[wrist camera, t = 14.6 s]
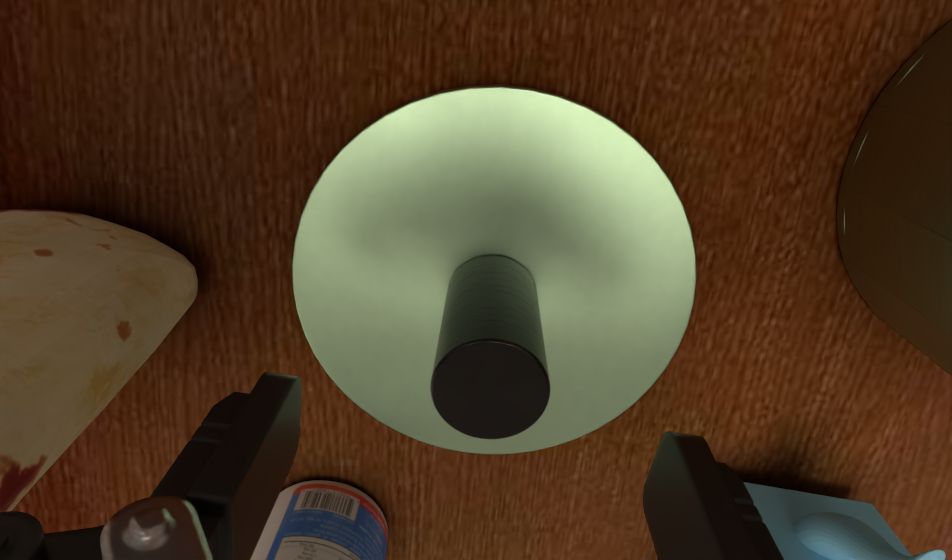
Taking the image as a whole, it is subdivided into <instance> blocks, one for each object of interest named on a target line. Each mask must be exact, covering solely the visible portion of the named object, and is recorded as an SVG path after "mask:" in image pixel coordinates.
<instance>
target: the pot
mask: <svg viewBox="0 0 952 560" xmlns="http://www.w3.org/2000/svg"><path fill="white" fill-rule="evenodd" d="M837 230H838V242H839V246H840V250H841V255H842V259H843V263H844V265H845V267H846V270H847V272H848V274H849V277H850V279H851V281H852V283H853V284H854V286H855V287H856V289H857V291H858V292H859V294H860V295H861V297H862V298H863V299H864V300H865V301H866V302H867V303H868V305H869V306H870V308H871V310H872V312H873V313H874V314H875V315H876V316H877V317H878V318H880V319H881V320H882V321H883V322H885V323H886V324H887V325H888V326H890V327H891V328H892V329H893V330H895V331H896V332H897V333H898V334H900V335H901V336H902V337H903V338H905V339H906V340H907V341H908V342H910V343H911V344H912V345H913V346H915V347H916V348H917V349H919V350H920V351H921V352H922V353H924V354H925V355H926V356H927V357H929V358H930V359H931V360H932V361H934V362H935V363H936V364H937V365H939V366H940V367H941V368H942V369H944V370H945V371H946V372H947V373H949V374H950V375H951V376H952V20H950V21H949V22H948V23H947V24H946V25H945V26H944V27H942V28H941V29H940V30H939V31H938V32H937V33H935V34H934V35H933V36H932V37H931V38H930V39H928V40H927V41H926V42H925V43H924V44H923V45H922V46H921V47H920V48H919V49H918V50H917V51H916V52H915V53H914V54H913V55H912V56H911V58H910V59H909V60H908V61H907V62H906V63H905V64H904V65H903V66H902V67H901V68H900V69H899V71H898V72H897V73H896V75H895V76H894V77H893V78H892V80H891V81H890V82H889V84H888V85H887V86H886V87H885V89H884V90H883V91H882V92H881V94H880V96H879V97H878V99H877V100H876V102H875V104H874V105H873V107H872V108H871V110H870V112H869V113H868V115H867V116H866V118H865V120H864V122H863V124H862V126H861V128H860V130H859V132H858V134H857V136H856V138H855V141H854V143H853V145H852V148H851V150H850V153H849V156H848V159H847V162H846V165H845V168H844V171H843V176H842V180H841V185H840V190H839V194H838V207H837Z"/></svg>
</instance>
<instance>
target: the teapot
mask: <svg viewBox="0 0 952 560" xmlns="http://www.w3.org/2000/svg"><path fill="white" fill-rule="evenodd" d="M744 484H745V486H746V488H747V490H748V492H749V494H750V496H751V498H752V499H753V501H754V506H756V507H757V509H758V511H759V513H760V515H761V517H762V518H763V519H762V522H763V523H765V524H766V526H767V528H768V530H769V532H770V534H771V536H772V538H773V539H774V541H775V543H776V545H777V547H778V549H779V551H780V553H781V555H782V557H783V559H784V560H945V553H944V552H943V551H941V550H931V551H927V552H924V553H921V554H918V555H914V556H911V554H910V553H909V552H908V550H907V549H906V548H905V546H904V545H903V544H902V542H901V541H900V540H899V538H898V537H897V536H896V535H895V533H894V532H893V531H892V529H891V528H890V527H889V525H888V524H887V523H886V521H885V520H884V519H883V518H882V516H881V515H880V514H879V512H878V511H877V510H876V508H875V507H874V506H873V504H871V503H865V502H859V501H853V500H847V499H841V498H835V497H829V496H823V495H817V494H812V493H806V492H800V491H794V490H788V489H782V488H776V487H770V486H764V485H758V484H752V483H747V482H744Z"/></svg>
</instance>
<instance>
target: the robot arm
mask: <svg viewBox="0 0 952 560" xmlns="http://www.w3.org/2000/svg"><path fill="white" fill-rule="evenodd" d="M300 409H301V378H300V377H297V376H290V375H283V374H276V373H269V372H264V373H263V374H262V376H261V377H260V379H259V380H258V382H257V383H256V385H255V387H254V388H253V390H252V391H251V393H250V394H246V393H239V392H233V393H232V394H230V395H229V396H227V397H226V398H224V399H223V400H221V401H220V402H218V403H217V404H215V405H214V406H213V408H212V409H211V410H210V412H209V413H208V415H207V416H206V418H205V419H204V420H203V422H202V425H201V427H199V428H198V429H197V430H196V432H195V433H194V435H193V436H192V439H191V441H189V442H188V443H187V445H186V446H185V448H184V449H183V450H182V452H181V453H180V455H179V456H178V458H177V459H176V460H175V462H174V463H173V465H172V466H171V468H170V469H169V470H168V472H167V473H166V475H165V476H164V478H163V479H162V480H161V482H160V483H159V485H158V486H157V488H156V489H155V490H154V492H153V493H152V495H151V496H150V497H148V498H144V499H141V500H138V501H135V502H133V503H131V504H129V505H127V506H126V507H124V508H122V509H121V510H119V511H118V512H117V513H116V514H114V515H113V516H112V517H111V519H110V520H109V521H108V522H107V524H106V525H102V526H99V527H93V528H87V529H79V530H71V531H63V532H55V533H47V534H43V530H42V526H41V524H40V522H39V521H38V520H37V519H36V518H35V517H33V516H32V515H30V514H27V513H23V512H17V511H7V512H0V560H250V559H251V557H252V555H253V552H254V550H255V548H256V546H257V543H258V541H259V539H260V537H261V534H262V532H263V530H264V527H265V525H266V523H267V521H268V518H269V516H270V514H271V511H272V509H273V507H274V505H275V502H276V500H277V498H278V496H279V493H280V491H281V489H282V486H283V484H284V482H285V480H286V477H287V475H288V473H289V470H290V468H291V466H292V464H293V461H294V458H295V455H296V451H297V447H298V442H299V434H300ZM643 506H644V513H645V516H646V520H647V523H648V526H649V530H650V533H651V537H652V540H653V543H654V547H655V550H656V553H657V557H658V560H784V559H783V557H782V555H781V553H780V551H779V549H778V547H777V545H776V543H775V541H774V539H773V538H772V536H771V534H770V532H769V530H768V528H767V526H766V524H765V523H763V522H762V519H763V518H762V517H761V515H760V513H759V511H758V509H757V507H756V506H754V501H753V499H752V498H751V496H750V494H749V492H748V490H747V488H746V486H745V484H744V482H743V481H742V480H741V479H740V478H739V477H738V476H737V475H736V474H735V473H734V472H733V471H732V470H731V469H730V468H729V467H728V466H727V465H726V464H725V463H719V462H716V461H715V459H714V457H713V455H712V453H711V451H710V448H709V446H708V444H707V442H706V441H705V439H704V438H703V437H702V436H696V435H689V434H682V433H676V432H669V431H668V432H666V433H665V434H664V435H663V437H662V439H661V442H660V444H659V447H658V450H657V453H656V455H655V458H654V461H653V464H652V466H651V469H650V472H649V474H648V477H647V480H646V483H645V487H644V493H643Z"/></svg>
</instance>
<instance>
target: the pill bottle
mask: <svg viewBox="0 0 952 560" xmlns="http://www.w3.org/2000/svg"><path fill="white" fill-rule="evenodd" d="M387 544H388V526H387V522H386V519H385V517H384V515H383V513H382V511H381V509H380V508H379V507H378V505H377V504H376V503H375V502H374V501H373V500H372V499H371V498H370V497H369V496H368V495H366V494H365V493H364V492H362V491H360V490H358V489H356V488H354V487H352V486H349V485H347V484H343V483H339V482H334V481H327V480H313V481H305V482H301V483H298V484H295V485H292V486H290V487H288V488H286V489H285V490H283V491H282V492H280V493H279V496H278V498H277V500H276V502H275V505H274V507H273V509H272V511H271V514H270V516H269V518H268V521H267V523H266V525H265V527H264V530H263V532H262V534H261V537H260V539H259V541H258V543H257V546H256V548H255V550H254V552H253V555H252V557H251V559H250V560H385V556H386V551H387Z"/></svg>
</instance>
